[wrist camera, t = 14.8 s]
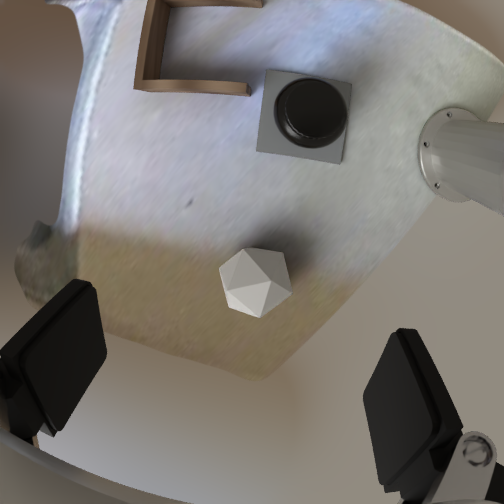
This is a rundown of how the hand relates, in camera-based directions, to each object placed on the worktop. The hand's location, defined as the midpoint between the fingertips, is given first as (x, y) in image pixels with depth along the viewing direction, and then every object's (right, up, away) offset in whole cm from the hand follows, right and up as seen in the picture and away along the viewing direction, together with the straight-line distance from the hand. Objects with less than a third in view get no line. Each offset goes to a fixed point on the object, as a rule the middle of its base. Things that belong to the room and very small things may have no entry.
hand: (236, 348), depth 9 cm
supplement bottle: (+6, +18, +24) cm, 31 cm away
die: (+1, +1, +33) cm, 33 cm away
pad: (+6, +19, +25) cm, 31 cm away
